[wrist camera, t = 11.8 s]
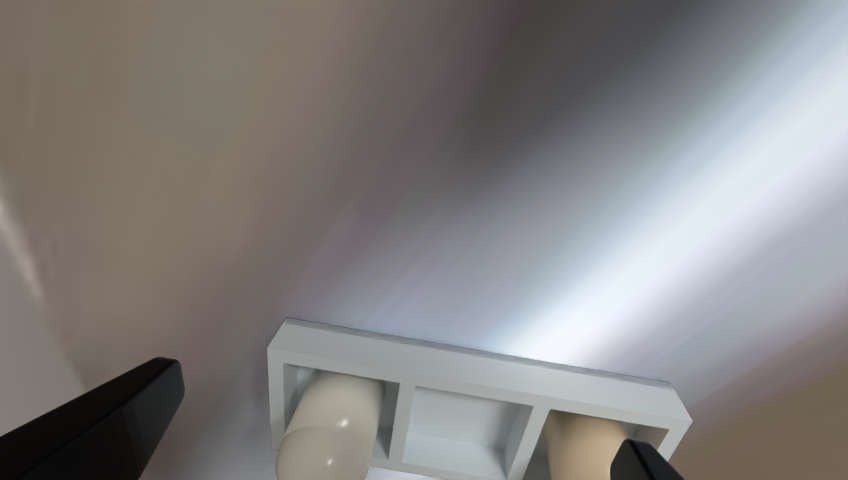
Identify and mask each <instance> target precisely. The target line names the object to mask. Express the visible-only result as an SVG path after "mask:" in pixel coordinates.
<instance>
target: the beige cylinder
mask: <svg viewBox="0 0 848 480" xmlns="http://www.w3.org/2000/svg"><path fill="white" fill-rule="evenodd" d="M542 432H543V438H544V443H545V448H546V453H547V458H548V464H549V469H550V474H551V479H552V480H611V479H610V466H611V463H612V461H613V459H614V457H615V455H616V453H617V451H618V449H619V447H620V446H621V444H622V442H623V440H625V439H626V438H628V435H627V433H626V430H625V428H624V425H623V423H622V421H618V420H612V419H606V418H600V417H595V416H589V415H583V414H577V413H571V412H566V411H560V410H554V409H551V410H550V411H549V412H548V415H547V418H546V420H545V423H544V425H543V428H542Z"/></svg>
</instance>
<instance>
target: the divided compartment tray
mask: <svg viewBox="0 0 848 480" xmlns="http://www.w3.org/2000/svg"><path fill="white" fill-rule="evenodd" d="M267 355H268V379H269V403H270V428H271V449H276V450H278V449H279V446H280V443H281V441H282V439H283V437H284V435H285V432H286V430H287V428H288V426H289V424H290V421H291V419H292V417H293V415H294V413H295V410H296V408H297V406H298V404H299V402H300V399H301V397H302V395H303V393H304V391H305V388H306V386H307V384H308V382H309V380H310V377H311V375H312V373H313V371H314V369H321V370H327V371H333V372H339V373H345V374H350V375H356V376H362V377H368V378H374V379H379V380H384V383H385V387H386V393H385V398H384V402H383V407H382V411H381V416H380V420H379V425H378V429H377V434H376V438H375V443H374V447H373V451H372V456H371V460H370V465H369V466H372V467H378V468H384V469H389V470H395V471H401V472H407V473H412V474H418V475H424V476H429V477H435V478H441V479H446V480H552V479H551V474H550V469H549V464H548V458H547V453H546V448H545V443H544V438H543V432H542V428H543V425H544V423H545V420H546V418H547V415H548V412H549V411H550V410H551V409H554V410H560V411H566V412H571V413H577V414H583V415H589V416H595V417H600V418H606V419H612V420H618V421H622V423H623V425H624V428H625V430H626V433H627V435H628V438H632V439H638V440H643V441H646V442H648V443H650V444H651V445H652V446H653V447H654V448H655V449H656V450H657V451H658V452H659V453H660V454H661V455H662V456H663V458H664V459H665V460H666V461H668V460H669V458H670V457H671V455H672V453H673V452H674V450H675V449H676V447H677V445H678V444H679V442H680V441H681V439H682V437H683V436H684V434H685V432H686V431H687V429H688V428H689V426H690V424H691V423H692V419H691V418H690V416H689V414H688V412H687V411H686V409H685V407H684V406H683V404H682V402H681V401H680V399H679V397H678V396H677V394H676V392H675V390H674V389H673V387H672V385H671V384H670V383H668V382H662V381H656V380H650V379H645V378H639V377H633V376H627V375H621V374H615V373H609V372H603V371H597V370H592V369H586V368H580V367H574V366H568V365H562V364H556V363H550V362H544V361H539V360H533V359H527V358H521V357H515V356H509V355H503V354H497V353H491V352H486V351H480V350H474V349H468V348H462V347H456V346H450V345H444V344H438V343H433V342H427V341H421V340H415V339H409V338H403V337H397V336H391V335H385V334H380V333H374V332H368V331H362V330H356V329H350V328H344V327H338V326H332V325H327V324H321V323H315V322H309V321H303V320H297V319H291V318H286V319H285V321H284V323H283V324H282V326H281V327H280V329H279V330H278V332H277V334H276V335H275V337H274V338H273V340H272V341H271V343H270V345H269V346H268V348H267Z"/></svg>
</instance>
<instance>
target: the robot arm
mask: <svg viewBox="0 0 848 480" xmlns="http://www.w3.org/2000/svg"><path fill="white" fill-rule="evenodd" d="M184 391H185V387H184V381H183V375H182V369H181V364H180V362H179V361H178V360H176V359H170V358H164V357H157V358H154V359H152V360H150V361H148V362H146V363H144V364H142V365H140V366H138V367H136V368H134V369H132V370H130V371H128V372H126V373H124V374H122V375H120V376H118V377H116V378H114V379H112V380H110V381H108V382H106V383H104V384H102V385H101V386H99V387H97V388H95V389H93V390H91V391H89V392H87V393H85V394H83V395H81V396H79V397H77V398H75V399H73V400H71V401H69V402H67V403H65V404H63V405H61V406H59V407H58V408H55V409H53V410H51V411H50V412H48V413H46V414H44V415H42V416H40V417H38V418H36V419H34V420H32V421H30V422H28V423H26V424H24V425H22V426H20V427H18V428H16V429H14V430H12V431H10V432H8V433H6V434H5V435H3V436H1V437H0V480H138V479H139V478H140V476H141V475H142V473H143V471H144V469H145V468H146V466H147V464H148V462H149V461H150V459H151V457H152V455H153V453H154V451H155V450H156V448H157V446H158V444H159V442H160V440H161V438H162V437H163V435H164V433H165V431H166V429H167V427H168V426H169V424H170V422H171V420H172V418H173V416H174V415H175V413H176V411H177V409H178V407H179V405H180V403H181V402H182V399H183V397H184ZM610 479H611V480H684V479H683V478H682V477H681V475H680V474H679V473H678V472H677V471H676V470H675V469H674V468H673V467H672V466H671V465H670V464H669V463H668V462H667V461H666V460H665V459H664V458H663V456H662V455H661V454H660V453H659V452H658V451H657V450H656V449H655V448H654V447H653V446H652V445H651V444H650V443H648V442H646V441H643V440H638V439H632V438H626V439H625V440H623V442H622V444H621V446H620V447H619V449H618V451H617V453H616V455H615V457H614V459H613V461H612V463H611V466H610Z"/></svg>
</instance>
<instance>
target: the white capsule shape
mask: <svg viewBox="0 0 848 480" xmlns="http://www.w3.org/2000/svg"><path fill="white" fill-rule="evenodd" d="M385 393H386V387H385V383H384V380H379V379H374V378H368V377H362V376H356V375H350V374H345V373H339V372H333V371H327V370H321V369H314V371H313V373H312V375H311V377H310V380H309V382H308V384H307V386H306V388H305V391H304V393H303V395H302V397H301V399H300V402H299V404H298V406H297V408H296V410H295V413H294V415H293V417H292V419H291V421H290V424H289V426H288V428H287V430H286V432H285V435H284V437H283V439H282V441H281V443H280V446H279V449H278V452H277V457H276V477H277V480H365V478H366V476H367V473H368V469H369V465H370V460H371V456H372V451H373V447H374V443H375V438H376V434H377V429H378V425H379V420H380V416H381V411H382V407H383V402H384V398H385Z"/></svg>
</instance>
